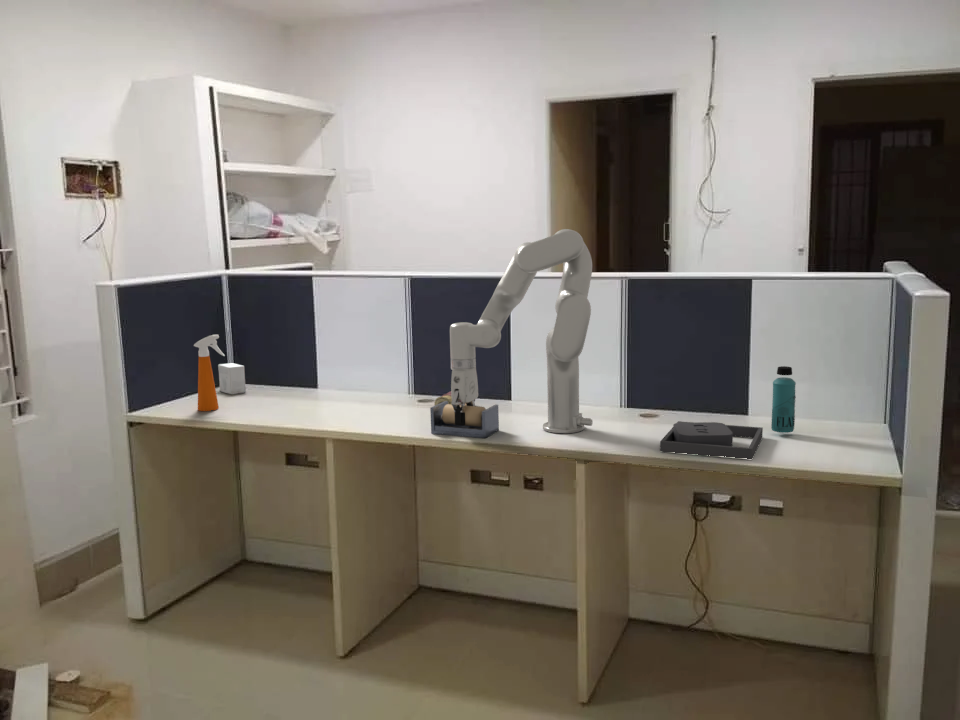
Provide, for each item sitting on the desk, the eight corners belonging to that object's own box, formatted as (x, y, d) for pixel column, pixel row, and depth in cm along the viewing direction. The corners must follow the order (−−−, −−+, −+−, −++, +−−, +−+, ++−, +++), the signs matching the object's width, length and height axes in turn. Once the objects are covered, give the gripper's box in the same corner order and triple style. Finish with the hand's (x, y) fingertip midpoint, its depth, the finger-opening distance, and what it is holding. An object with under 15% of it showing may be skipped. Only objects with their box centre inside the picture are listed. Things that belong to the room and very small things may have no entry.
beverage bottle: (773, 437, 246) (775, 368, 243) (768, 432, 253) (770, 364, 250) (796, 438, 246) (799, 368, 242) (791, 432, 252) (794, 364, 249)
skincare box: (246, 392, 331) (244, 365, 329) (230, 394, 327) (228, 367, 325) (235, 388, 339) (233, 362, 337) (219, 391, 335) (217, 364, 333)
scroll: (456, 414, 279) (480, 401, 298) (447, 393, 280) (471, 381, 298) (438, 422, 283) (462, 409, 301) (428, 401, 283) (453, 389, 301)
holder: (498, 430, 263) (498, 404, 262) (485, 438, 254) (485, 411, 253) (445, 425, 270) (445, 400, 269) (431, 433, 261) (430, 407, 260)
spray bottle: (225, 410, 299) (220, 335, 295) (194, 411, 299) (188, 336, 295) (231, 406, 306) (226, 332, 302) (201, 407, 306) (195, 333, 302)
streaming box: (671, 440, 248) (671, 422, 247) (722, 439, 247) (723, 422, 246) (680, 454, 233) (680, 435, 233) (734, 453, 233) (734, 435, 232)
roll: (487, 424, 262) (486, 404, 261) (479, 429, 257) (478, 409, 256) (451, 421, 267) (450, 402, 266) (442, 426, 262) (441, 406, 260)
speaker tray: (762, 437, 247) (762, 427, 246) (751, 460, 225) (752, 449, 225) (677, 431, 257) (678, 421, 256) (660, 452, 235) (660, 441, 235)
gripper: (462, 369, 249) (464, 430, 252) (486, 359, 265) (487, 417, 268) (439, 368, 252) (441, 428, 255) (464, 358, 268) (465, 415, 271)
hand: (464, 421), depth 262 cm, fingers closed on roll, 6 cm apart
